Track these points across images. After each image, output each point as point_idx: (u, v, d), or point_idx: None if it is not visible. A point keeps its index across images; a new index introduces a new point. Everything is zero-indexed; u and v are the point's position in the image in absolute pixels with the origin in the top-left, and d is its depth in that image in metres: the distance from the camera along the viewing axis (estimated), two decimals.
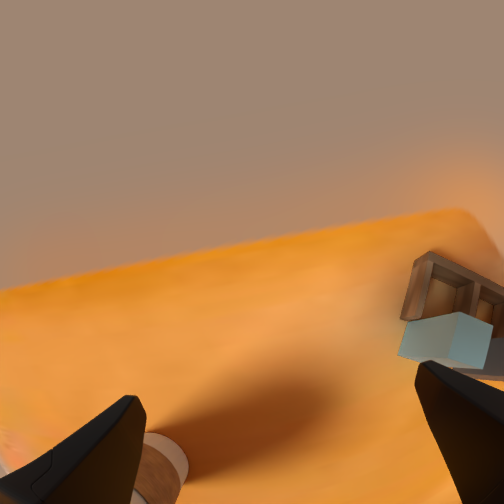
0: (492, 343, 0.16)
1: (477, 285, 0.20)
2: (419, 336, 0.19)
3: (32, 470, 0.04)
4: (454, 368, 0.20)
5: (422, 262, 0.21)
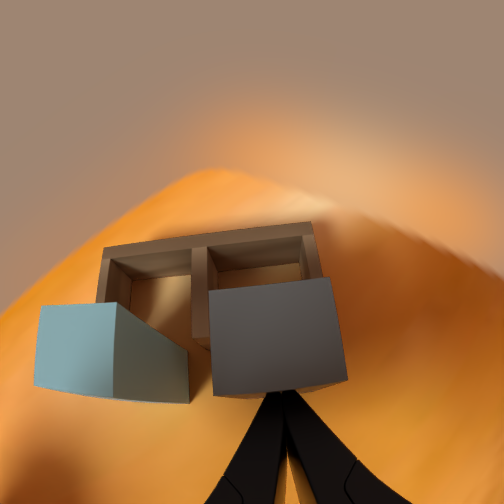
0: None
1: (198, 251, 0.15)
2: None
3: None
4: None
5: None
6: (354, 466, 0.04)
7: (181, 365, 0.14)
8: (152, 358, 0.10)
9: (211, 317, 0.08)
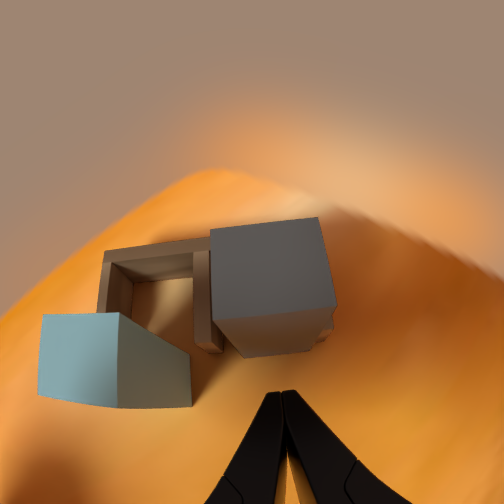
0: None
1: (200, 255, 0.15)
2: None
3: None
4: None
5: None
6: (354, 466, 0.04)
7: (183, 369, 0.14)
8: (155, 365, 0.10)
9: (212, 251, 0.09)
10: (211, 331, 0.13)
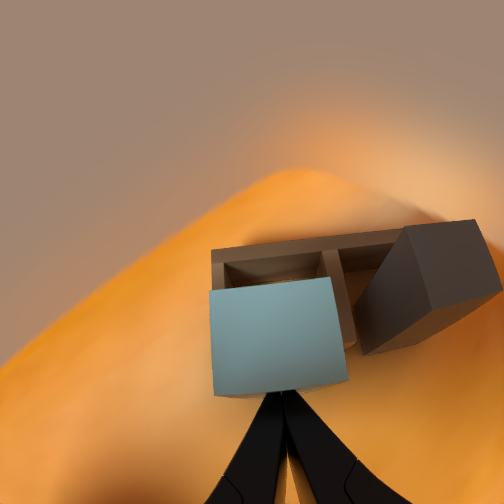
0: (383, 274, 0.11)
1: (330, 254, 0.14)
2: None
3: None
4: (363, 349, 0.14)
5: None
6: (354, 466, 0.04)
7: None
8: None
9: (413, 247, 0.08)
10: None
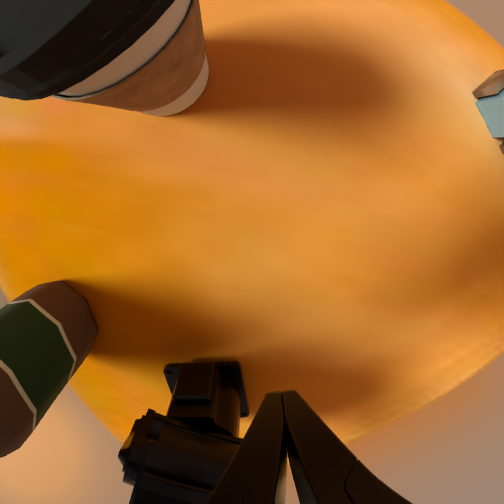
0: None
1: None
2: None
3: None
4: None
5: None
6: (354, 466, 0.04)
7: None
8: None
9: None
10: None
